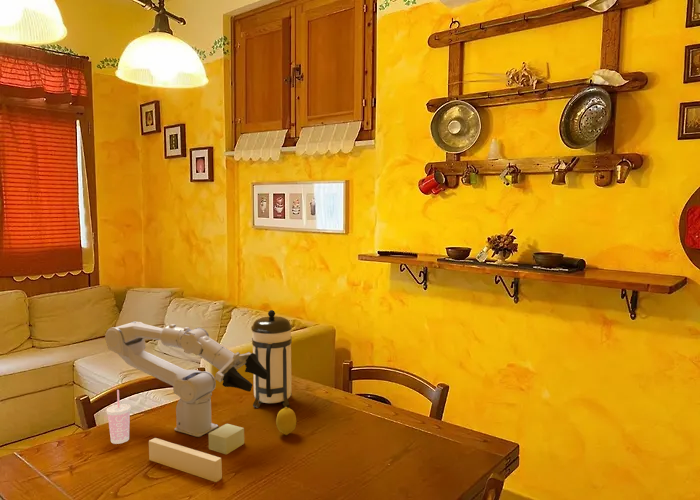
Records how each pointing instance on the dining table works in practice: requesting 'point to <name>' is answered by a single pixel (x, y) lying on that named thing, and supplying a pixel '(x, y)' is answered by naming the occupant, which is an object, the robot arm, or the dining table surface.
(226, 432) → the block
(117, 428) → the beverage cup
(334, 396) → the dining table surface
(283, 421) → the lemon
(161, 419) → the dining table surface
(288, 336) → the coffee press
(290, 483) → the dining table surface
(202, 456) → the board
